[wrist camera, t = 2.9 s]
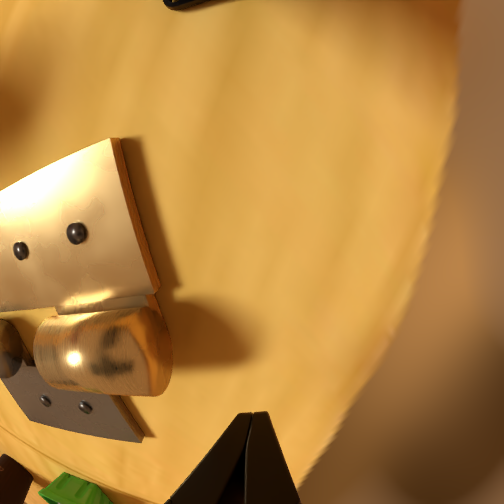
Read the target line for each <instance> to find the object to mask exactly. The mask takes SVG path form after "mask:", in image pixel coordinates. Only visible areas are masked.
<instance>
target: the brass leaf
mask: <svg viewBox="0 0 504 504" xmlns="http://www.w3.org/2000/svg"><path fill="white" fill-rule="evenodd" d="M160 286H161V284H160V281H159V278H158V275H157V272H156V269H155V266H154V263H153V260H152V257H151V254H150V250H149V247H148V244H147V241H146V238H145V234H144V231H143V228H142V224H141V221H140V217H139V214H138V210H137V207H136V203H135V199H134V196H133V192H132V188H131V184H130V181H129V177H128V173H127V169H126V165H125V160H124V156H123V152H122V148H121V143H120V139H119V138H109V139H106V140H104V141H101V142H99V143H96V144H94V145H92V146H89V147H87V148H85V149H82V150H80V151H78V152H76V153H74V154H71V155H69V156H67V157H65V158H63V159H61V160H59V161H57V162H55V163H53V164H51V165H48V166H47V167H45V168H43V169H41V170H39V171H37V172H35V173H33V174H31V175H29V176H27V177H25V178H24V179H22V180H20V181H18V182H16V183H15V184H13V185H11V186H9V187H8V188H6V189H4V190H3V191H1V192H0V312H7V311H17V310H26V309H36V308H45V307H53V306H55V308H56V311H57V313H58V315H59V316H51V317H48V318H46V319H45V320H44V321H43V322H42V323H41V324H40V326H39V327H38V329H37V331H36V334H35V337H34V343H33V353H34V360H35V364H36V367H37V369H38V371H39V373H40V375H41V376H42V378H43V379H44V380H45V381H46V382H47V383H48V384H49V385H50V386H52V387H54V388H56V389H61V390H68V391H77V392H86V393H97V394H110V395H126V396H152V397H154V396H159V395H161V394H162V393H163V392H164V391H165V390H166V388H167V386H168V384H169V382H170V378H171V374H172V366H173V354H172V345H171V340H170V336H169V332H168V330H167V327H166V324H165V322H164V319H163V316H162V314H161V311H160V308H159V306H158V303H157V300H156V298H155V295H154V294H155V293H156V291H157V290H158V289H159V288H160Z"/></svg>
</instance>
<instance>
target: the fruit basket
mask: <svg viewBox="0 0 504 504" xmlns="http://www.w3.org/2000/svg"><path fill="white" fill-rule="evenodd" d="M38 494H39V495H40V496H41V497H42V498H43V499H44V500H46V501H47V502H48V503H49V504H113V503H112V502H111V501H110V500H109V498H108V497H107V496H106V495H105V494H104V493H103V492H102V491H101V489H100V488H99V487H98V486H97V485H96V484H93V483H89V482H87V481H85V480H83V479H80V478H78V477H75V476H72V475H69V474H68V473H65V472H63V473H62V474H61V475H60V476H59V477H58V478H57V479H55V480H54V481H53V482H52V483H51V484H49V485H48V486H47V487H46V488H45V489H42V490H40V491H39V492H38Z"/></svg>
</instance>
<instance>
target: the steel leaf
mask: <svg viewBox="0 0 504 504" xmlns="http://www.w3.org/2000/svg"><path fill="white" fill-rule="evenodd" d="M0 378H1V380H2V382H3V383H4V385H5V386H6V388H7V389H8V391H9V392H10V394H11V395H12V397H13V398H14V399H15V401H16V402H17V404H18V405H19V407H20V408H21V409H22V411H23V412H24V413H25V415H26V416H27V417H28V419H29V420H30V421H34V422H37V423H41V424H44V425H48V426H52V427H56V428H60V429H64V430H68V431H72V432H77V433H82V434H86V435H92V436H97V437H102V438H108V439H115V440H121V441H128V442H136V443H142V440H143V438H144V436H145V435H144V433H143V432H142V430H141V429H140V427H139V426H138V424H137V423H136V421H135V420H134V418H133V417H132V415H131V414H130V412H129V411H128V409H127V407H126V406H125V404H124V403H123V401H122V399H121V398H120V396H119V395H110V394H97V393H86V392H77V391H68V390H61V389H56V388H54V387H52V386H50V385H49V384H48V383H47V382H46V381H45V380H44V379H43V378H42V376H41V375H40V373H39V371H38V369H37V367H36V364H35V360H32V358H31V356H30V354H29V353H28V351H27V349H26V347H25V345H24V343H23V342H22V340H21V338H20V336H19V334H18V332H17V331H16V329H15V328H14V327H13V326H12V325H11V324H10V323H9V322H7V321H5V320H1V319H0Z"/></svg>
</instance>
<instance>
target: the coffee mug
mask: <svg viewBox="0 0 504 504" xmlns="http://www.w3.org/2000/svg"><path fill="white" fill-rule="evenodd" d="M32 481H33V477H32V475H31V474H30V473H29V472H28V471H27V470H26V469H25V468H24V467H22V466H21V465H20V464H19V463H18V462H16V461H15V460H14V459H12V458H11V457H9V456H8V455H6V454H3V455H2V456H1V457H0V504H23V503H24V500H25V498H26V495H27V493H28V490H29V488H30V485H31V483H32Z"/></svg>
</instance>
